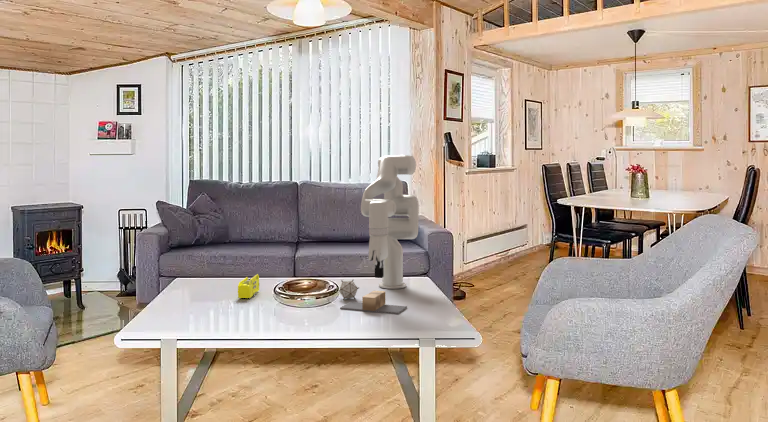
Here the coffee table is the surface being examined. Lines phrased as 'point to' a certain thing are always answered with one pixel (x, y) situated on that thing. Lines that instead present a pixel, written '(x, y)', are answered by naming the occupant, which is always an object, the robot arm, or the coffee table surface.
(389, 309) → the mat
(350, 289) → the game die
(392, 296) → the coffee table surface
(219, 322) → the coffee table surface
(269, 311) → the coffee table surface
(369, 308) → the oak block
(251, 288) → the yellow toy chassis
